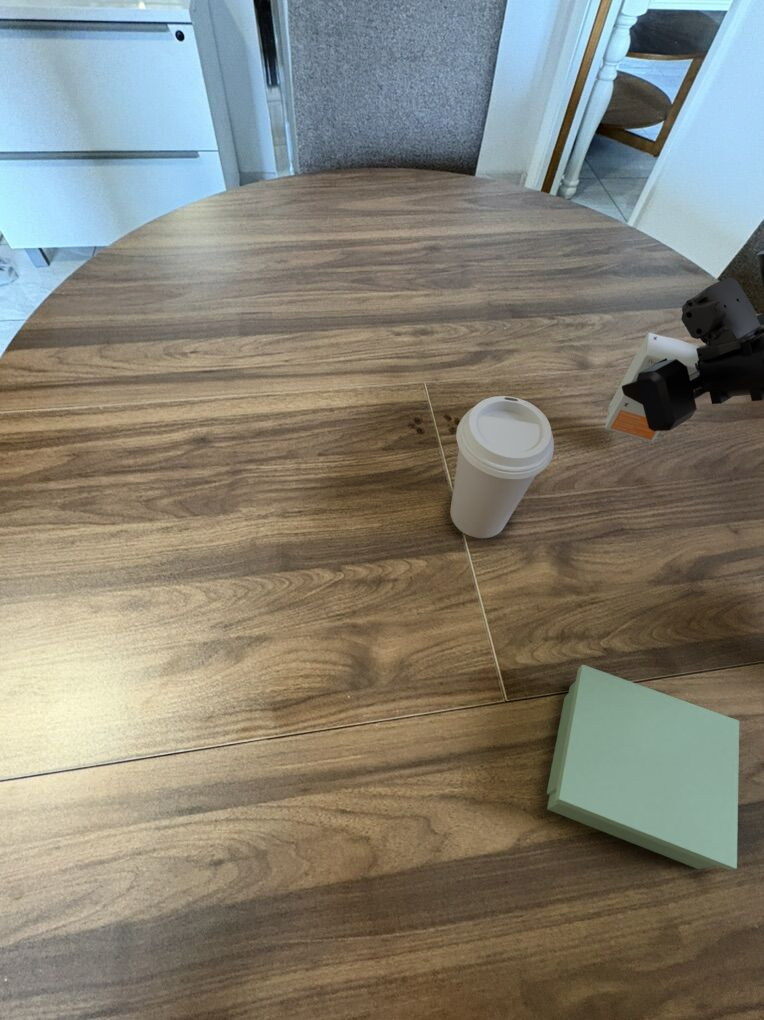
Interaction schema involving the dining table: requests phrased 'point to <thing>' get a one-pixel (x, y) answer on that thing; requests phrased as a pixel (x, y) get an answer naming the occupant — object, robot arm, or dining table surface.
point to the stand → (648, 769)
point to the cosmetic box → (622, 409)
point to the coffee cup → (497, 462)
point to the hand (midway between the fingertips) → (643, 379)
